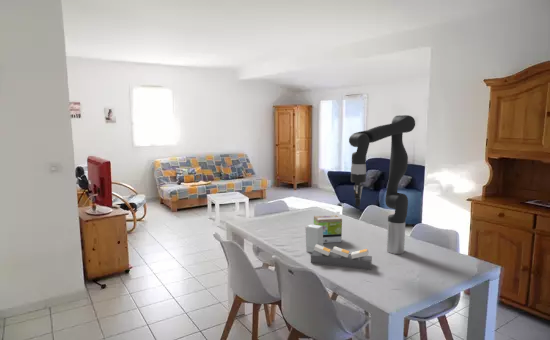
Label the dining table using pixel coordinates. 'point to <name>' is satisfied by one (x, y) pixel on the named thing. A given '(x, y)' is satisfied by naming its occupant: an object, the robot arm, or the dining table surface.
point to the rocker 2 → (340, 251)
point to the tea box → (330, 227)
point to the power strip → (341, 260)
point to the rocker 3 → (359, 253)
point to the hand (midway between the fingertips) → (357, 205)
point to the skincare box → (313, 237)
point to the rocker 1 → (322, 249)
